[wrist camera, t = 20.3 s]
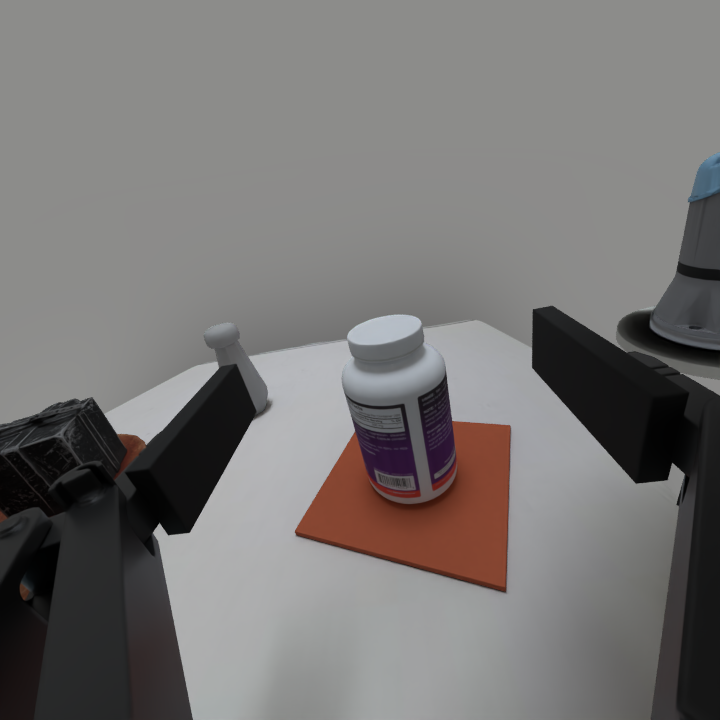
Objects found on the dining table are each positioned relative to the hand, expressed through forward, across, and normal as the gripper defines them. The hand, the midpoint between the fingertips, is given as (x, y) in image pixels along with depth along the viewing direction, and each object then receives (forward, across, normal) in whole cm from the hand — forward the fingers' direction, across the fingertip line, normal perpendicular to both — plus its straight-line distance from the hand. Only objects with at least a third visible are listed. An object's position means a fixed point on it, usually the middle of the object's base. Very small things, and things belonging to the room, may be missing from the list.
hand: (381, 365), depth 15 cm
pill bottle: (+10, 0, -16) cm, 19 cm away
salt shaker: (+26, -22, -17) cm, 38 cm away
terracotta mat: (+10, 0, -17) cm, 19 cm away
